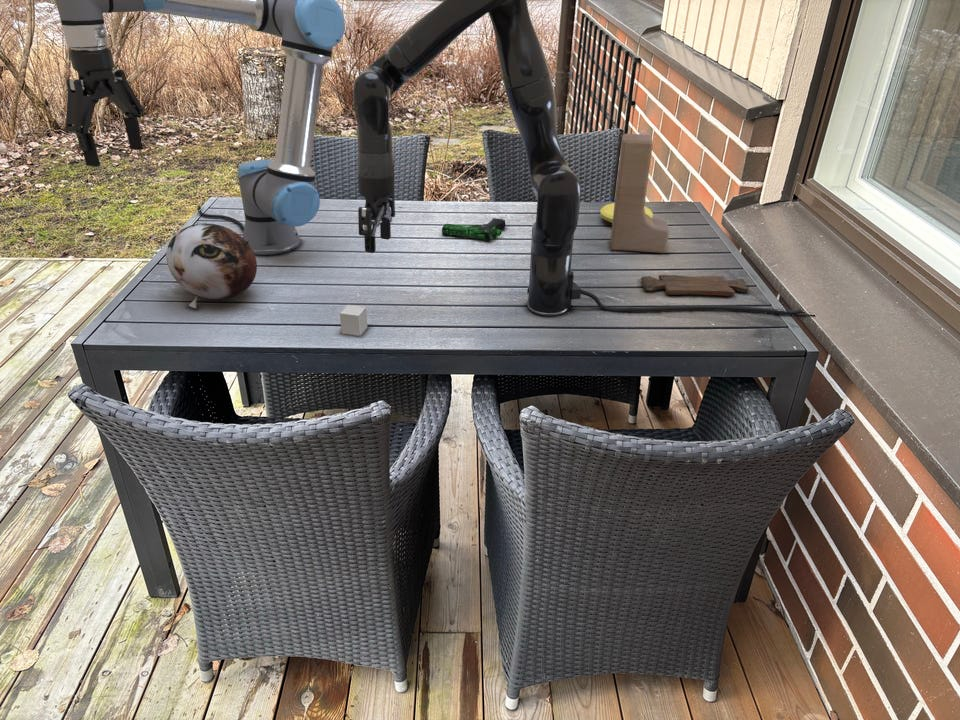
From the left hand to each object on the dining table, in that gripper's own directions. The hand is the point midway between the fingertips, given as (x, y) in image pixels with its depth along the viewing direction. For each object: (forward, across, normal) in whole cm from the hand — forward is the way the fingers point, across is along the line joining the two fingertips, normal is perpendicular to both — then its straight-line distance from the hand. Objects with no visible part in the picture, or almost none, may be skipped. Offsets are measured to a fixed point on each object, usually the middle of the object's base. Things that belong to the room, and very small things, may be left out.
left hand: (116, 157), depth 150 cm
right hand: (+17, +10, -54) cm, 57 cm away
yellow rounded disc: (+33, +84, -104) cm, 138 cm away
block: (+33, -1, -52) cm, 61 cm away
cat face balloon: (+33, +6, -14) cm, 36 cm away
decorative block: (+33, +65, -108) cm, 131 cm away
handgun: (+33, +64, -62) cm, 95 cm away
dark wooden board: (+33, +42, -124) cm, 135 cm away
